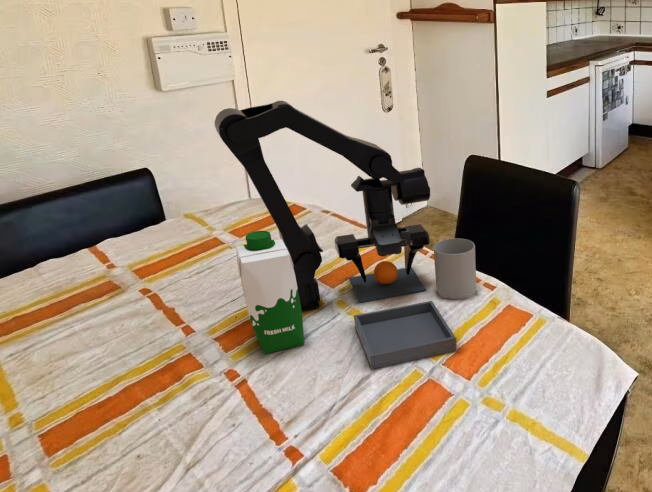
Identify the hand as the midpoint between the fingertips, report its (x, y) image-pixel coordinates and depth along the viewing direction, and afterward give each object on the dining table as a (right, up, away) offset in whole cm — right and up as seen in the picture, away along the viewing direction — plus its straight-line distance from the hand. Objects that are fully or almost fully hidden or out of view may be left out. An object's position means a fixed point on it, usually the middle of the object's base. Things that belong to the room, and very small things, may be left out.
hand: (386, 277), depth 133 cm
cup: (+15, -3, -1) cm, 15 cm away
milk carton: (-15, -13, -19) cm, 28 cm away
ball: (0, +1, -1) cm, 1 cm away
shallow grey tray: (+7, -12, -19) cm, 23 cm away
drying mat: (0, -2, +1) cm, 2 cm away
